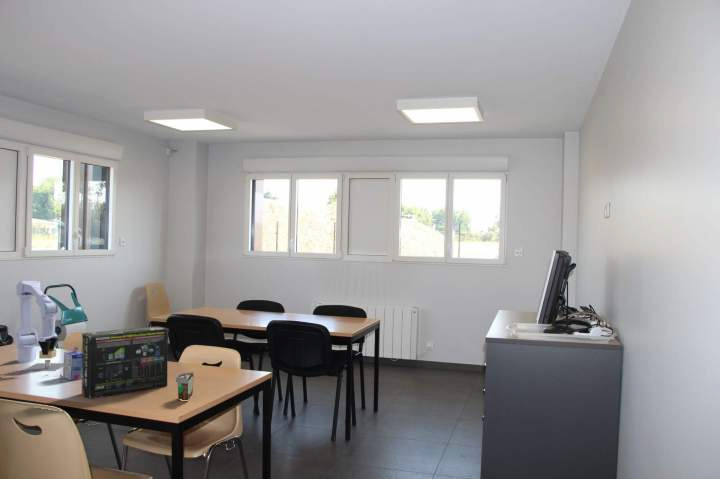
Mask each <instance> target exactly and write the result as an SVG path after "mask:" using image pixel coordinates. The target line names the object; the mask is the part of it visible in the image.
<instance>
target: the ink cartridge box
mask: <svg viewBox="0 0 720 479" xmlns="http://www.w3.org/2000/svg"><path fill="white" fill-rule="evenodd" d="M78 349H79V347H76V346H75V347H74V348H73V350H72V351H64V352H63V363H64V364H63V367H62V369H63V370H62V377H63V378H65V379H67V380H69V381H75V380H76V379H77V380H82V352H79V350H78Z"/></svg>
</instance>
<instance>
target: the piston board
mask: <svg viewBox="0 0 720 479" xmlns="http://www.w3.org/2000/svg"><path fill="white" fill-rule="evenodd" d="M63 364H64V362H61V363H60V362H59V363H58V362H55V363H53V362H51V359H45V360H44V362H43V363H42V362H37V363H35V364H32V365H30V366H28V367H26V368H24V369H21V372H55V371H57V370H60V369H63Z"/></svg>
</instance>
